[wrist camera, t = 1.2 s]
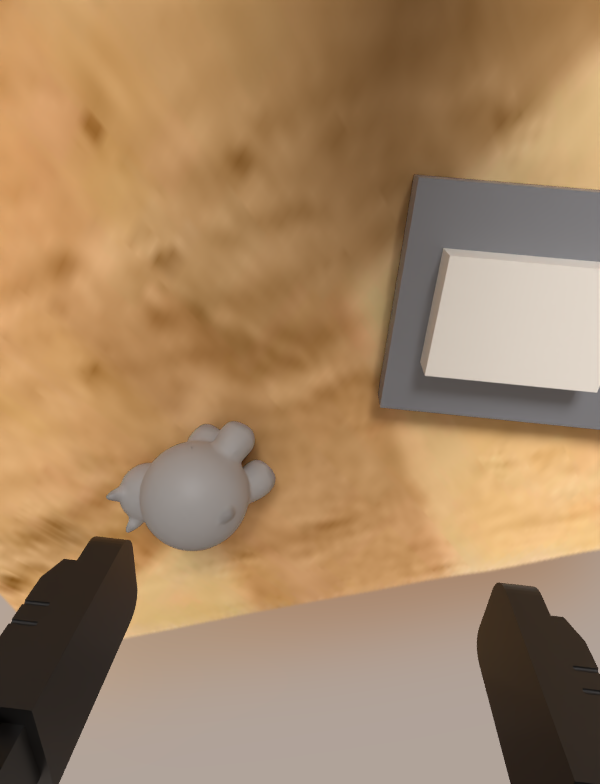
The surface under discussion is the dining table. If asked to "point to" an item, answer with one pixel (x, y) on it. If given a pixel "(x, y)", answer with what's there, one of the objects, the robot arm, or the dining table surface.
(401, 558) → the dining table surface
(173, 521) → the chubby cartoon animal
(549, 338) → the cream tile
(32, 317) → the dining table surface
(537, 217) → the plate
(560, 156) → the dining table surface
